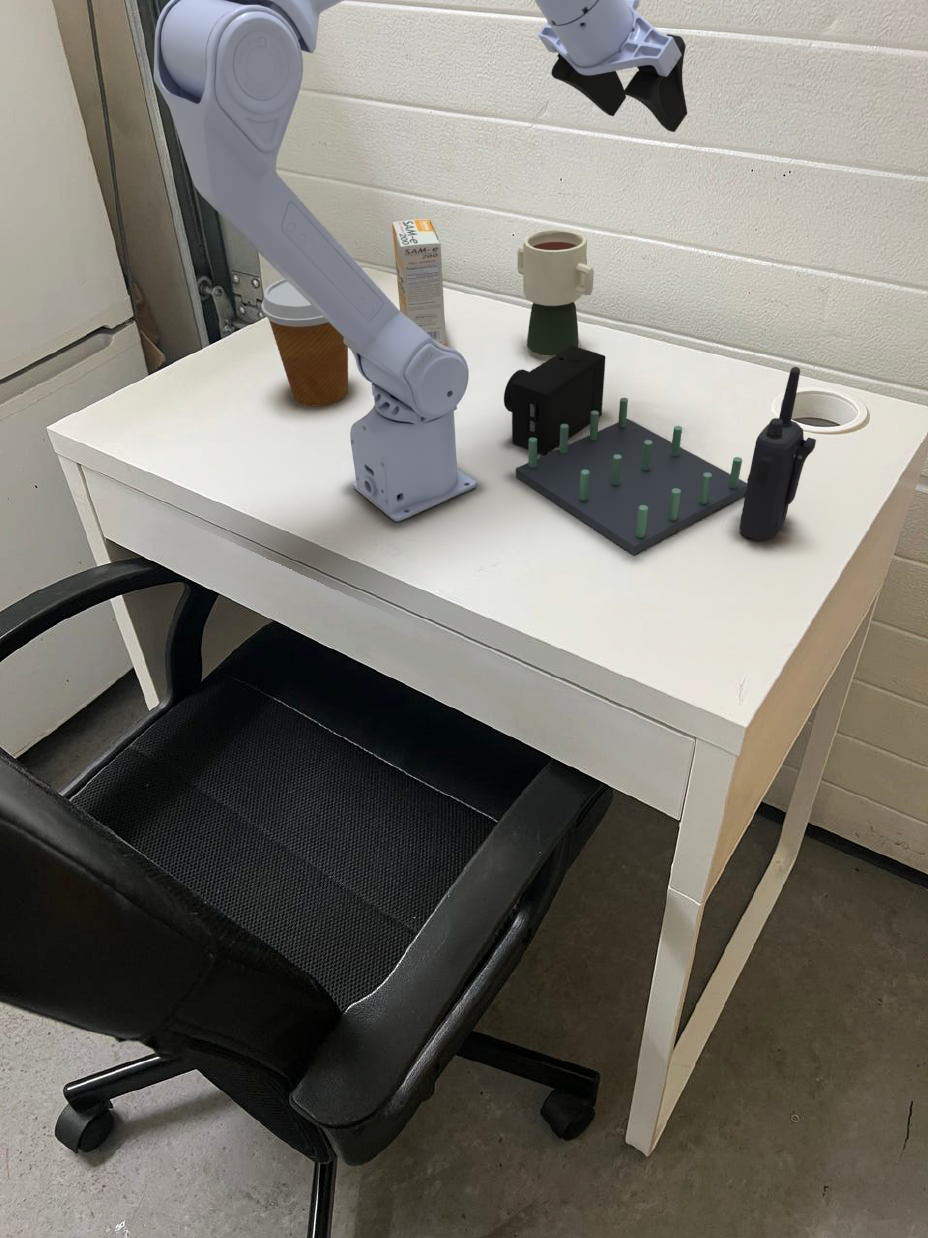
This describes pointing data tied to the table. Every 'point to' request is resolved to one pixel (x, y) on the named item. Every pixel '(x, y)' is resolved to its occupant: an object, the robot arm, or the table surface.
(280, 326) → the disposable coffee cup
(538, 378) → the digital camera
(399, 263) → the supplement box
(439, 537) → the table surface
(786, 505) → the two-way radio
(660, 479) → the rack
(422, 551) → the table surface
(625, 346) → the table surface
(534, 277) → the character mug
